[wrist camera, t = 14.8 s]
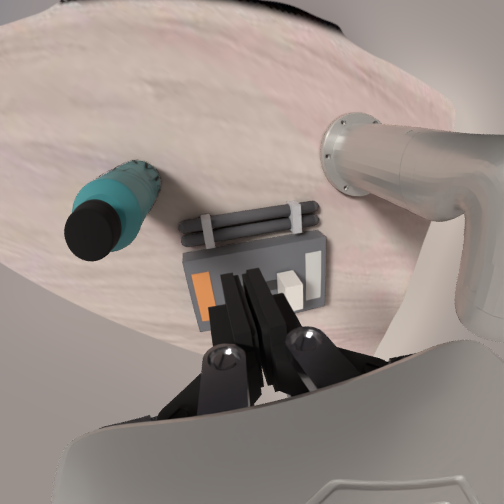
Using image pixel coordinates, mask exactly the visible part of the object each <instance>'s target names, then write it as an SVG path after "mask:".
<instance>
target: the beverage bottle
mask: <svg viewBox="0 0 504 504" xmlns="http://www.w3.org/2000/svg"><path fill="white" fill-rule="evenodd" d="M136 160H138V159H136ZM130 161H131V160H130ZM146 162H147V161H146ZM146 162H145V161H135V160H132V161H131V162H128V163H127V162H125V163H126V164H124V163H123V165H122V166H121V165H119V166H120V167H118V166H117V167H118V168H116V167H115V169H113V170H112V169H111V170H112V171H110V172H109V171H108V173H107V174H105V175H101V176H99V177H100V178H97V180H94V181H92V182H90V183H88V184H87V185H85V186H84V187H83V188H82V189H81V190H80V191H79V193H78V194H77V196H76V198H75V201H74V204H73V209H72V214H71V215H70V216H69V217H68V219H67V221H66V224H65V229H64V235H65V240H66V243H67V245H68V247H69V249H70V250H71V251H72V253H73V254H75V255H76V256H77V257H78V258H80V259H82V260H85V261H97V260H100V259H102V258H104V257H105V256H107V255H108V254H109V253H110V252H114V251H118V250H121V249H123V248H125V247H127V246H128V245H129V244H130V243H131V242H132V241H133V240H134V239H135V238H136V236H137V234H138V232H139V230H140V227H141V225H142V223H143V221H144V219H145V217H146V215H147V213H148V212H150V211H151V210H150V208H151V207H152V205H153V203H154V201H155V199H156V198H157V196H158V194H159V191H160V188H161V185H160V178H159V174H158V172H157V171H156V170H157V169H156V170H155V169H154V167H152V166H151V165H152V164H148V163H146ZM105 173H106V172H105ZM151 209H152V208H151ZM149 210H150V211H149Z"/></svg>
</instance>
